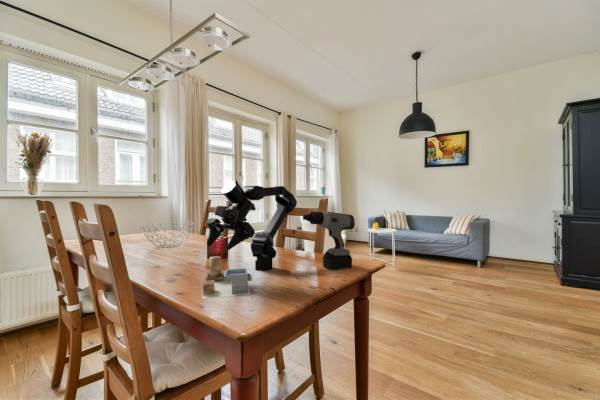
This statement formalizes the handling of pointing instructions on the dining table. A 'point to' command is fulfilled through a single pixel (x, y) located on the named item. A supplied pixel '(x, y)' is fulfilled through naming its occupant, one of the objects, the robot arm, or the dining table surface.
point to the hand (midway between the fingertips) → (217, 247)
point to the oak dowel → (215, 266)
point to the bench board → (223, 290)
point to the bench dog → (208, 287)
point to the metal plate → (239, 286)
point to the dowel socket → (215, 278)
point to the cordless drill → (334, 237)
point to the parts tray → (236, 274)
